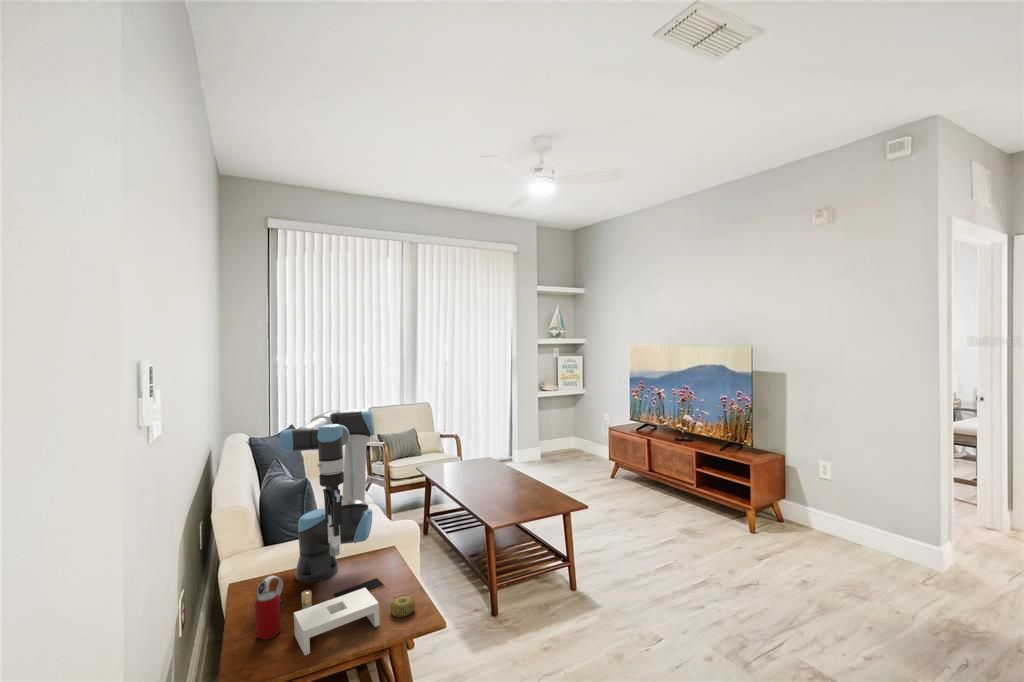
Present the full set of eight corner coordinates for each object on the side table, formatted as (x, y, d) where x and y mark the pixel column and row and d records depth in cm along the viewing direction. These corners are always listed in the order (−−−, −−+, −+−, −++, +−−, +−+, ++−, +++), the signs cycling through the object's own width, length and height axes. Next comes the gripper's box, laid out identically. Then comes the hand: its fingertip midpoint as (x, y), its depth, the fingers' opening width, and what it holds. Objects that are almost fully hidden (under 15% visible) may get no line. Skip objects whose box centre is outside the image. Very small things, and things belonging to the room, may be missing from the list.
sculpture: (401, 591, 161) (420, 596, 157) (401, 603, 161) (420, 608, 157) (384, 603, 154) (403, 609, 150) (385, 616, 154) (404, 622, 150)
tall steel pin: (328, 554, 158) (327, 514, 159) (338, 551, 160) (336, 512, 160) (331, 556, 156) (329, 516, 156) (340, 554, 158) (339, 514, 158)
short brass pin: (301, 613, 157) (300, 592, 157) (311, 609, 159) (309, 588, 159) (303, 617, 155) (302, 595, 155) (313, 613, 157) (312, 592, 157)
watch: (254, 614, 158) (253, 581, 158) (278, 602, 165) (276, 570, 165) (263, 619, 155) (261, 585, 155) (287, 607, 162) (285, 574, 161)
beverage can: (281, 625, 151) (279, 587, 151) (281, 636, 145) (279, 597, 145) (256, 632, 148) (254, 593, 148) (256, 644, 142) (254, 603, 142)
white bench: (294, 635, 146) (293, 612, 145) (366, 608, 159) (365, 587, 159) (304, 655, 136) (303, 631, 136) (379, 625, 149) (378, 602, 149)
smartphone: (331, 596, 168) (331, 593, 168) (377, 579, 178) (377, 577, 178) (338, 605, 162) (338, 602, 162) (385, 587, 172) (385, 585, 172)
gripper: (313, 469, 163) (316, 539, 162) (326, 479, 150) (329, 554, 149) (336, 465, 167) (338, 533, 167) (350, 474, 154) (353, 547, 154)
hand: (334, 543), depth 158 cm, fingers closed on tall steel pin, 3 cm apart
